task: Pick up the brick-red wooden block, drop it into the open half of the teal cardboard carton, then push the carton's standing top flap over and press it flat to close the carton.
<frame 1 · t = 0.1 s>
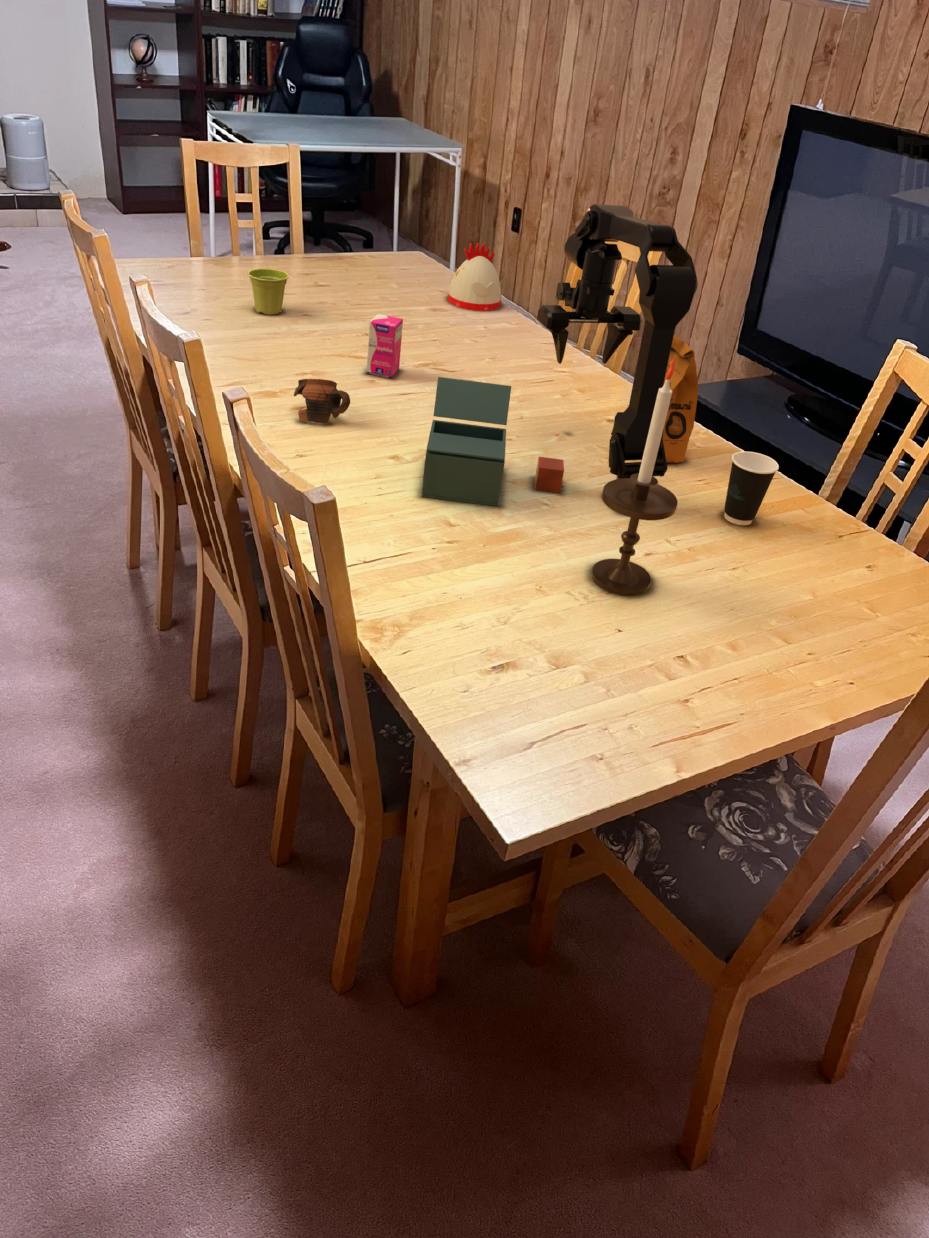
hand: (581, 363, 184), 15 cm above the table, tool pointing down, fingers open, 9 cm apart
block: (547, 485, 173), on the table
coffee package: (654, 452, 191), on the table
kitchen timer: (474, 302, 257), on the table
pottery mug: (321, 417, 187), on the table
dixie cup: (737, 519, 171), on the table
supplement box: (382, 373, 209), on the table
candlestick: (620, 580, 150), on the table
flap: (472, 401, 171), point 12 cm above the table, hinge at 122.0°
plant pot: (268, 311, 233), on the table
carton: (462, 482, 170), on the table
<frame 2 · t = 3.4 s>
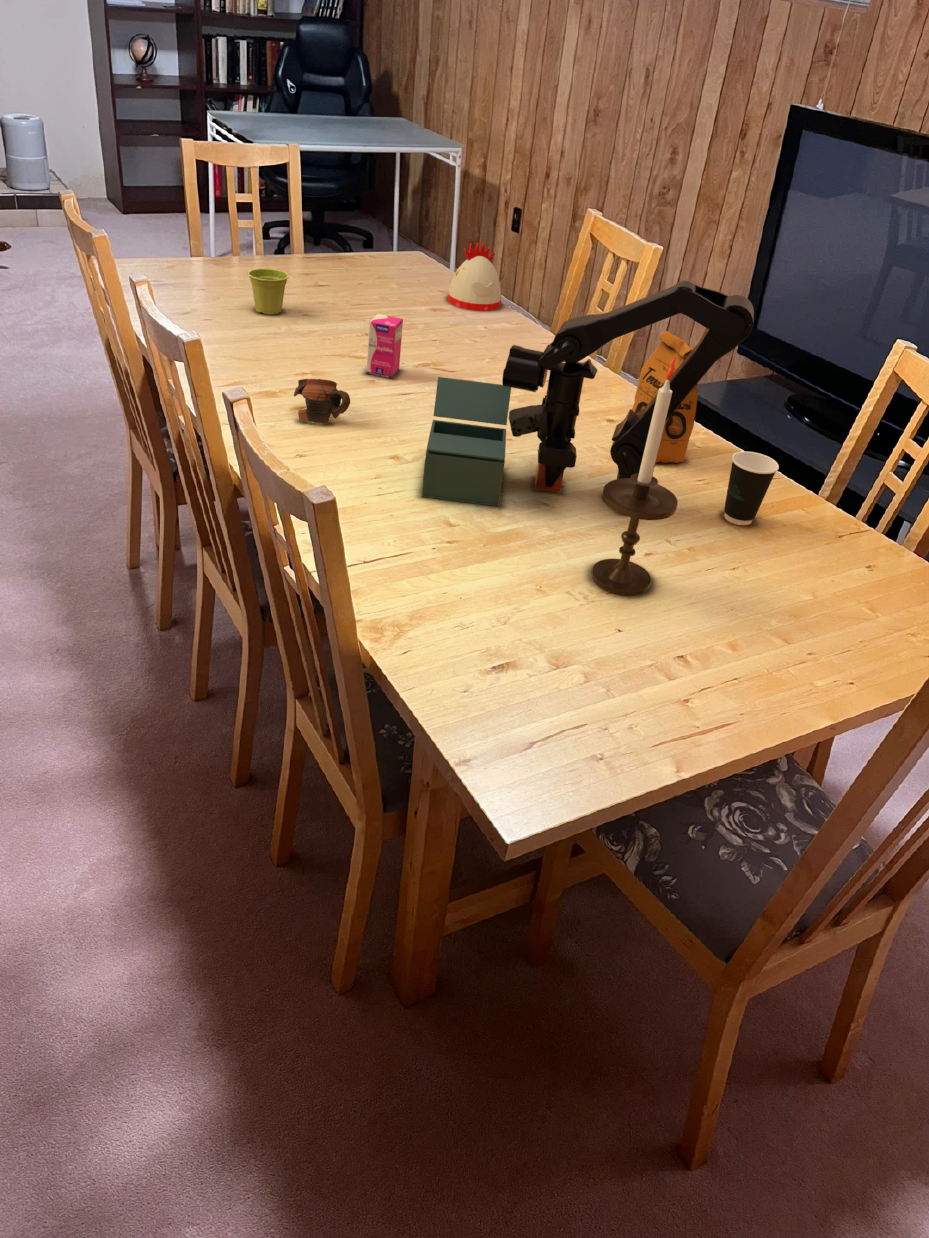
hand: (548, 480, 173), 1 cm above the table, tool pointing down, fingers closed on block, 4 cm apart
block: (547, 485, 173), on the table, touching gripper
everything else where it was.
when the fingers open (7 cm above the table, at t = 8.1 s): block drops 5 cm, resting on carton.
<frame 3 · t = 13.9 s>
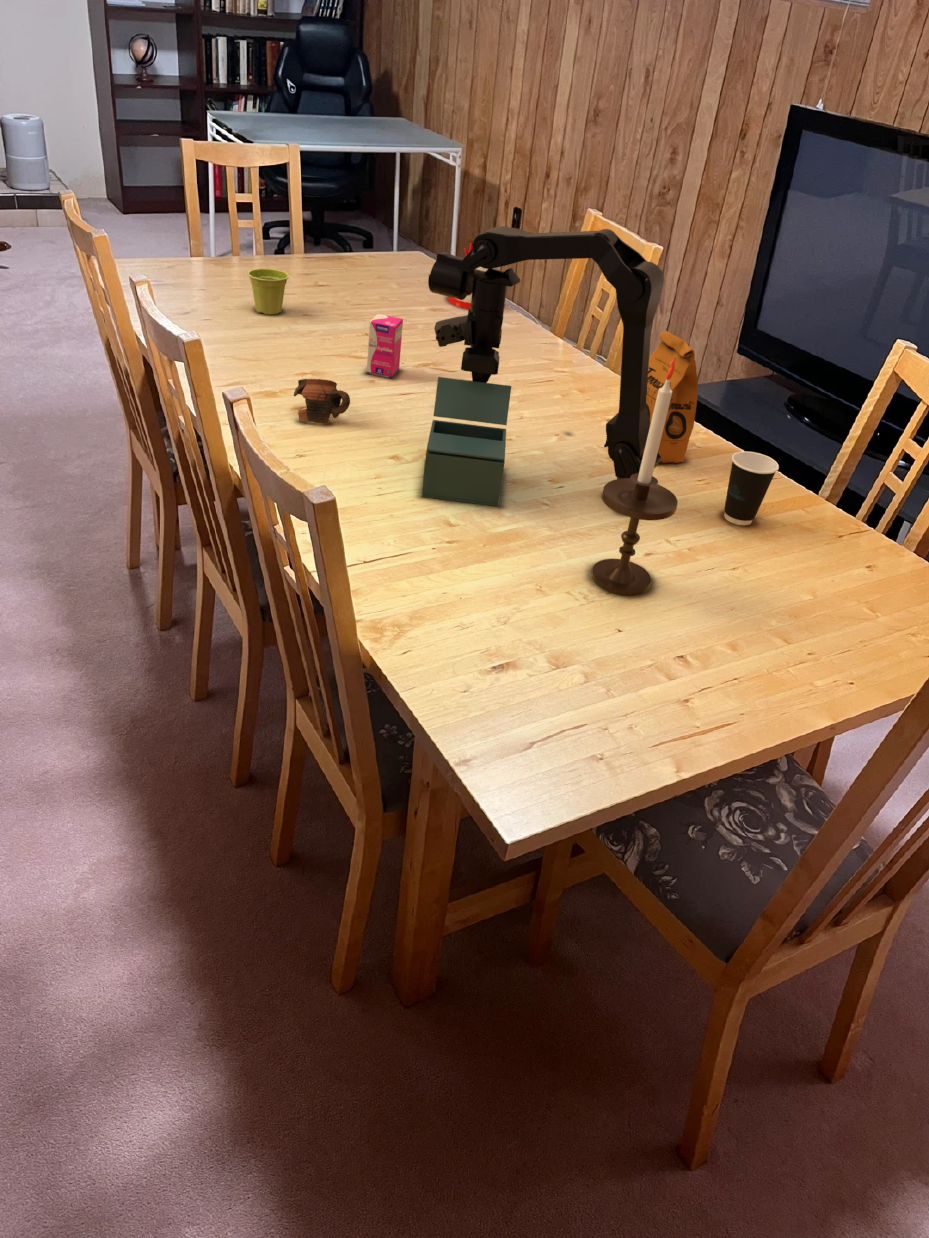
hand: (476, 393, 174), 12 cm above the table, tool pointing down, fingers closed
block: (469, 473, 173), resting on carton
flap: (472, 401, 171), point 12 cm above the table, hinge at 121.9°, touching gripper
everything else where it was.
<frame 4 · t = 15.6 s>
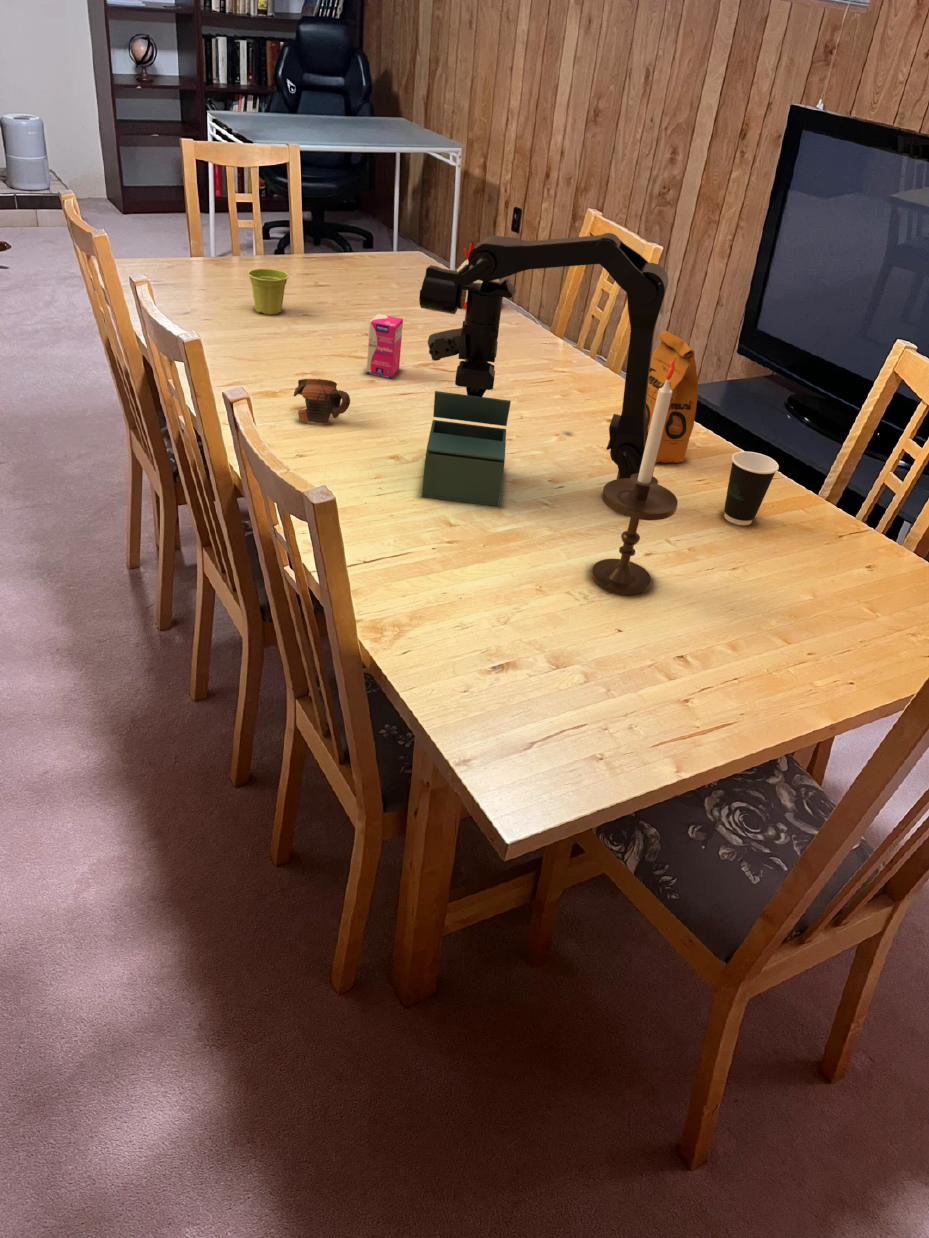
hand: (471, 408, 169), 11 cm above the table, tool pointing down, fingers closed
flap: (471, 409, 168), point 12 cm above the table, hinge at 59.3°, touching gripper
everything else where it was.
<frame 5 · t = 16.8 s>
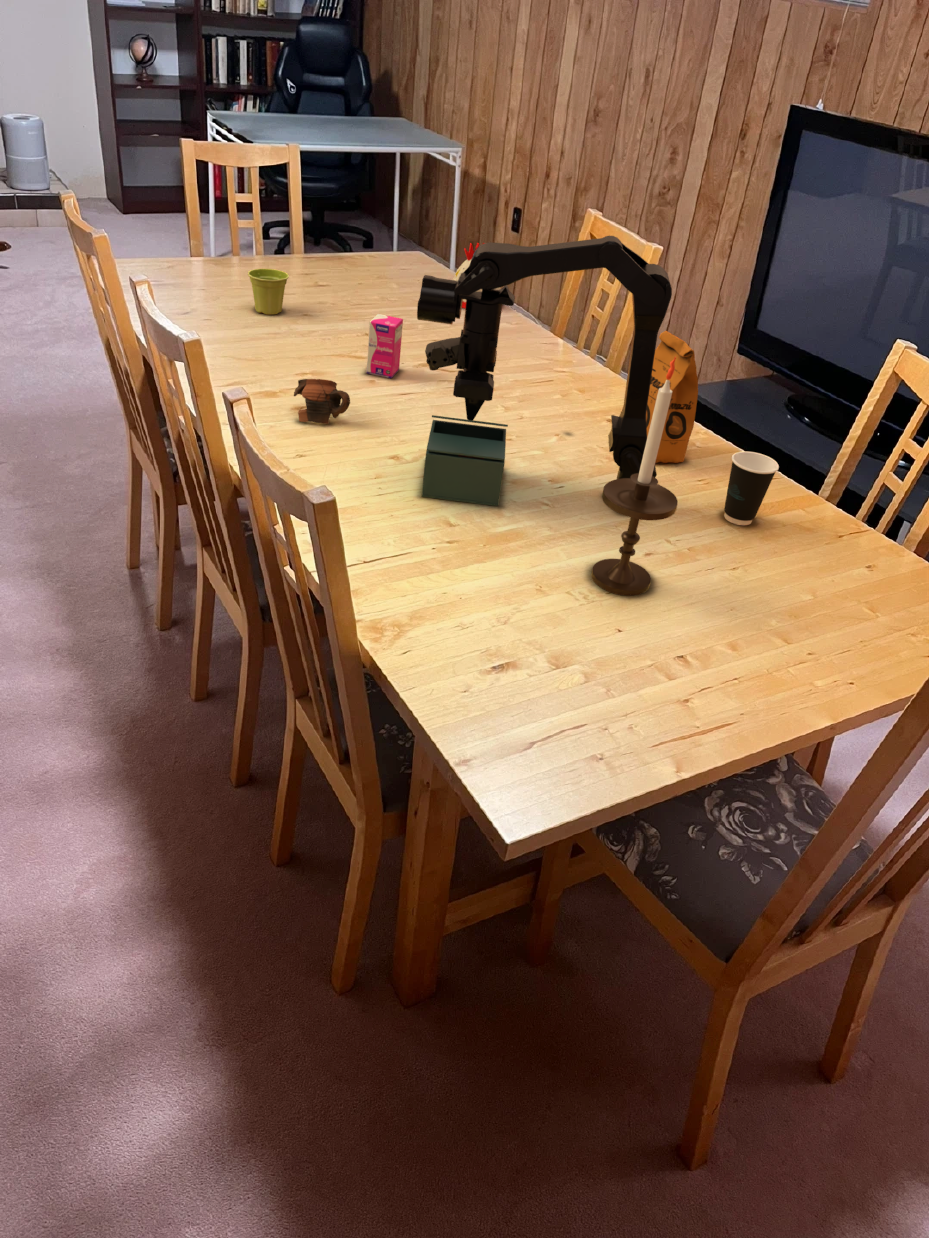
hand: (470, 419, 165), 11 cm above the table, tool pointing down, fingers closed
flap: (469, 421, 168), point 10 cm above the table, hinge at 23.2°
everything else where it was.
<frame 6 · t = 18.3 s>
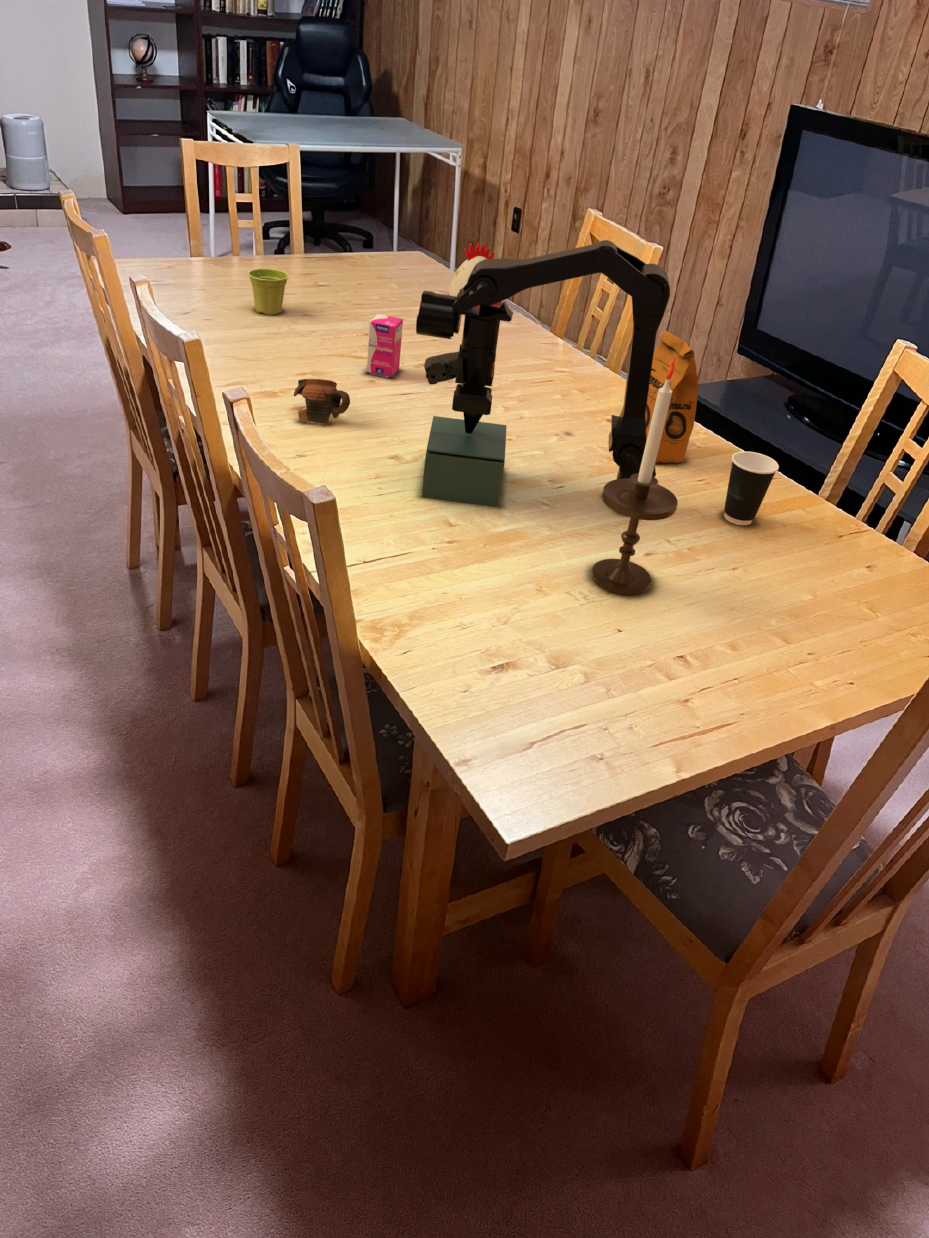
hand: (468, 432, 167), 9 cm above the table, tool pointing down, fingers closed, pressing on flap
flap: (468, 429, 168), point 9 cm above the table, hinge at -0.4°, touching gripper
everything else where it was.
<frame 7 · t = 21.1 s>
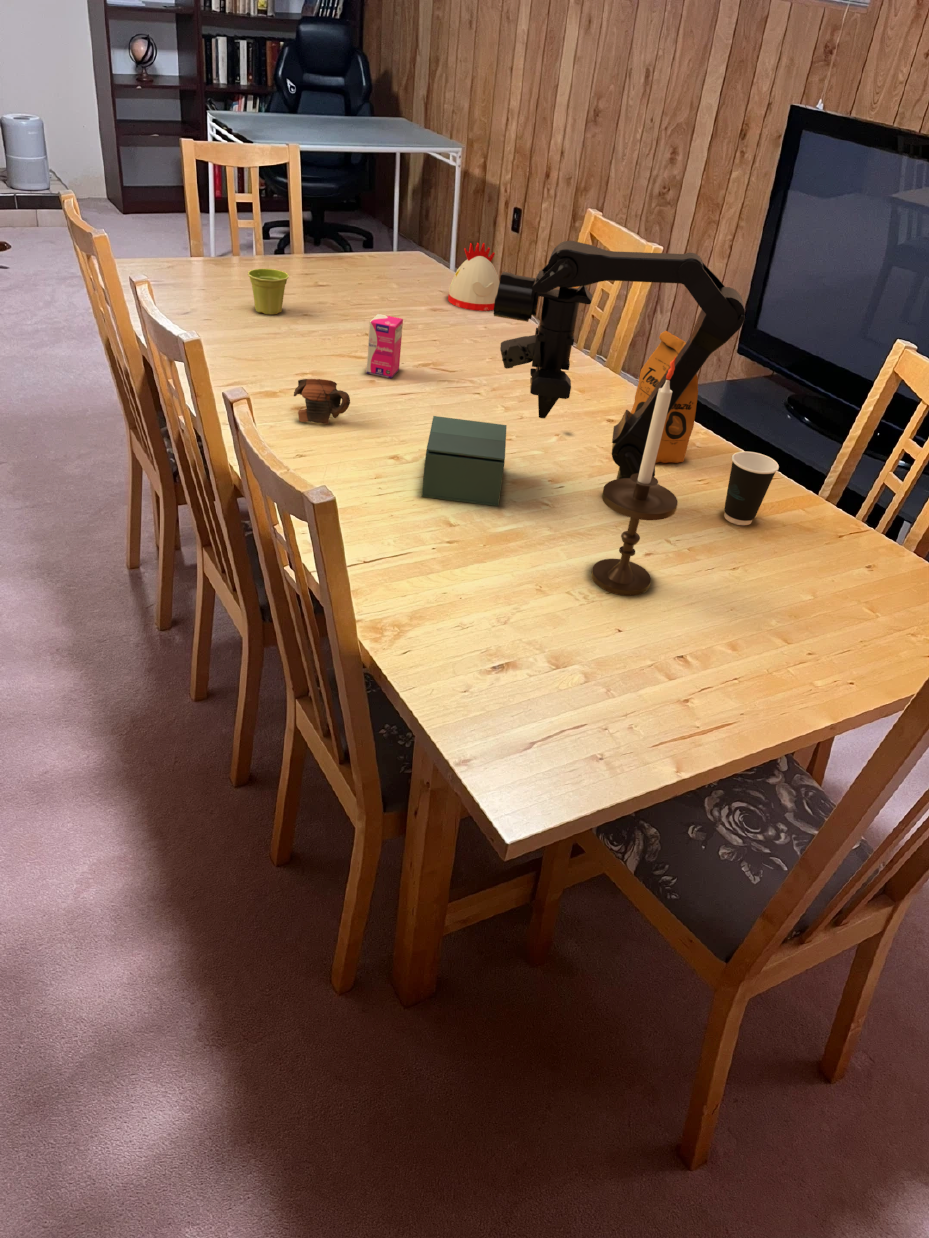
hand: (541, 417, 165), 13 cm above the table, tool pointing down, fingers closed
flap: (468, 429, 168), point 9 cm above the table, hinge at -0.4°
everything else where it was.
at the end: block 3.2 cm from the carton (horizontally); block point 0.5 cm above the table; flap at +0° (first picture: +122°) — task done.
